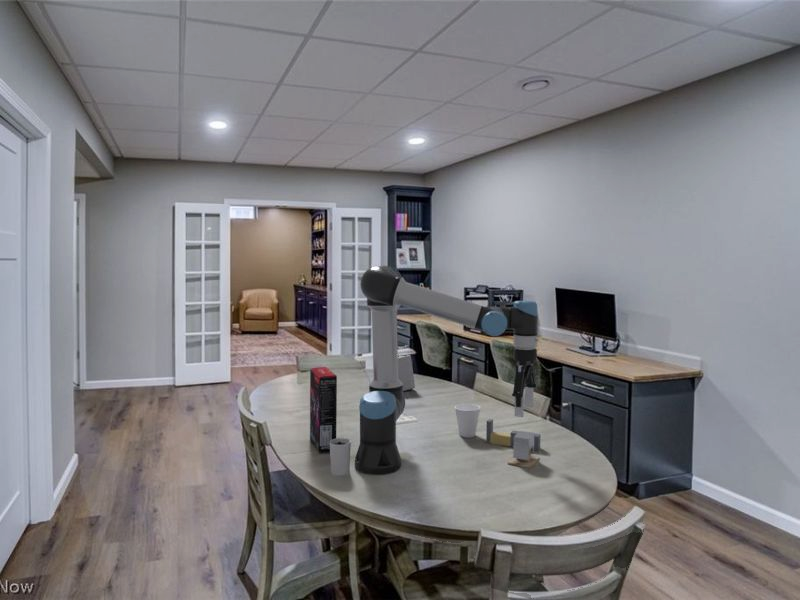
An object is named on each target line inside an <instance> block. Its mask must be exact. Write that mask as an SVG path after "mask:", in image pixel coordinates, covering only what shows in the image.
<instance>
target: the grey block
mask: <svg viewBox="0 0 800 600" xmlns="http://www.w3.org/2000/svg"><path fill="white" fill-rule="evenodd" d="M518 431H519V432H518V433H517V434H516V435H515V436H514V447H513V448H512V449H513V451H512V453H513V456H512V457H513V458H517V459H523V460H529V453H530V449H531V455H534V453H535V450H534V434H535V432H530V431H524V430H518Z"/></svg>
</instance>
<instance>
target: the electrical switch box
mask: <svg viewBox="0 0 800 600" xmlns="http://www.w3.org/2000/svg"><path fill="white" fill-rule="evenodd" d="M398 379H399V380H400V381H401V382H402V383H403V392H405V391H409V390H413V389H416V383H415V376H414V370H413V361H412V355H411V354H410V355H407V356H399V357H398Z"/></svg>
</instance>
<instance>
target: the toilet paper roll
mask: <svg viewBox="0 0 800 600" xmlns="http://www.w3.org/2000/svg"><path fill="white" fill-rule="evenodd" d="M351 445H352V441H351V439H349V438H345V437H339V438H337V437H336V439H332V440H331V441H330V452H329V455H330V456H329V457H330V473H331V475H332V476H334V477H343V476H347V475H349V474H350V468H351V448H352V447H351Z"/></svg>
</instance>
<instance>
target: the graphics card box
mask: <svg viewBox="0 0 800 600" xmlns="http://www.w3.org/2000/svg"><path fill="white" fill-rule="evenodd" d="M309 370H310V371H309V379H310V380H309V381H310V382H309V389H310V390H309V441H310V442H311V443H312V445H313V447H314V448H315V449H316V451H317V452H318V454H324V453H330V441H331V440H332V439H336V438H337V420H338V419H337V414H338V412H337V409H338V408H337V407H338V405H337V404H338V403H337V400H338V398H337V397H338V396H337V394H338V391H337V388H338V387H337V384H338V376H337V375H336V374H335V372H333V371H331V370H330V369H329V368H328V367H327V366H317V367H313V368H310V369H309Z"/></svg>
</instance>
